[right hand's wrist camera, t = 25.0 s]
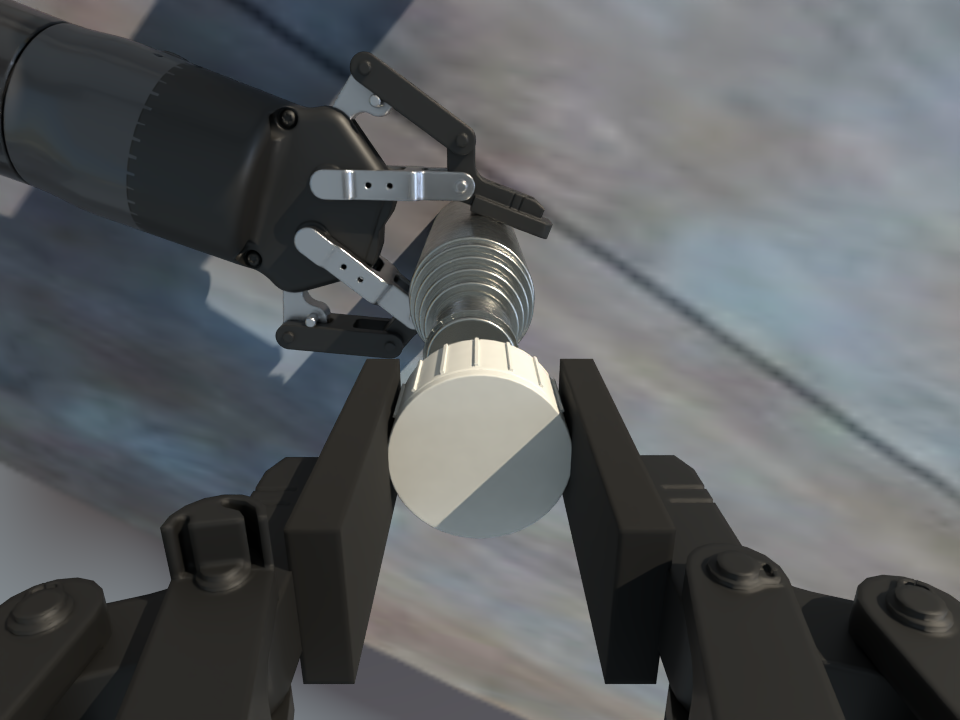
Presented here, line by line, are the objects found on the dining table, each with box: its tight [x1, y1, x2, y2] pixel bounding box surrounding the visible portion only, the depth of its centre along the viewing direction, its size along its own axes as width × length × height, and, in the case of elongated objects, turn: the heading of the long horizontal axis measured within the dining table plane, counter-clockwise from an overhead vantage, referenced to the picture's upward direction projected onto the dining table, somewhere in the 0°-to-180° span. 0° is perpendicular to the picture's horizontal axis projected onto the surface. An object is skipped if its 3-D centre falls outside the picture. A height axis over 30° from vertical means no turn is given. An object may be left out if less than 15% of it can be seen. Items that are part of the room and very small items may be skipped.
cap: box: [388, 338, 572, 538], centre depth 14 cm, size 4×4×2 cm
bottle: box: [409, 201, 535, 360], centre depth 26 cm, size 5×5×19 cm
